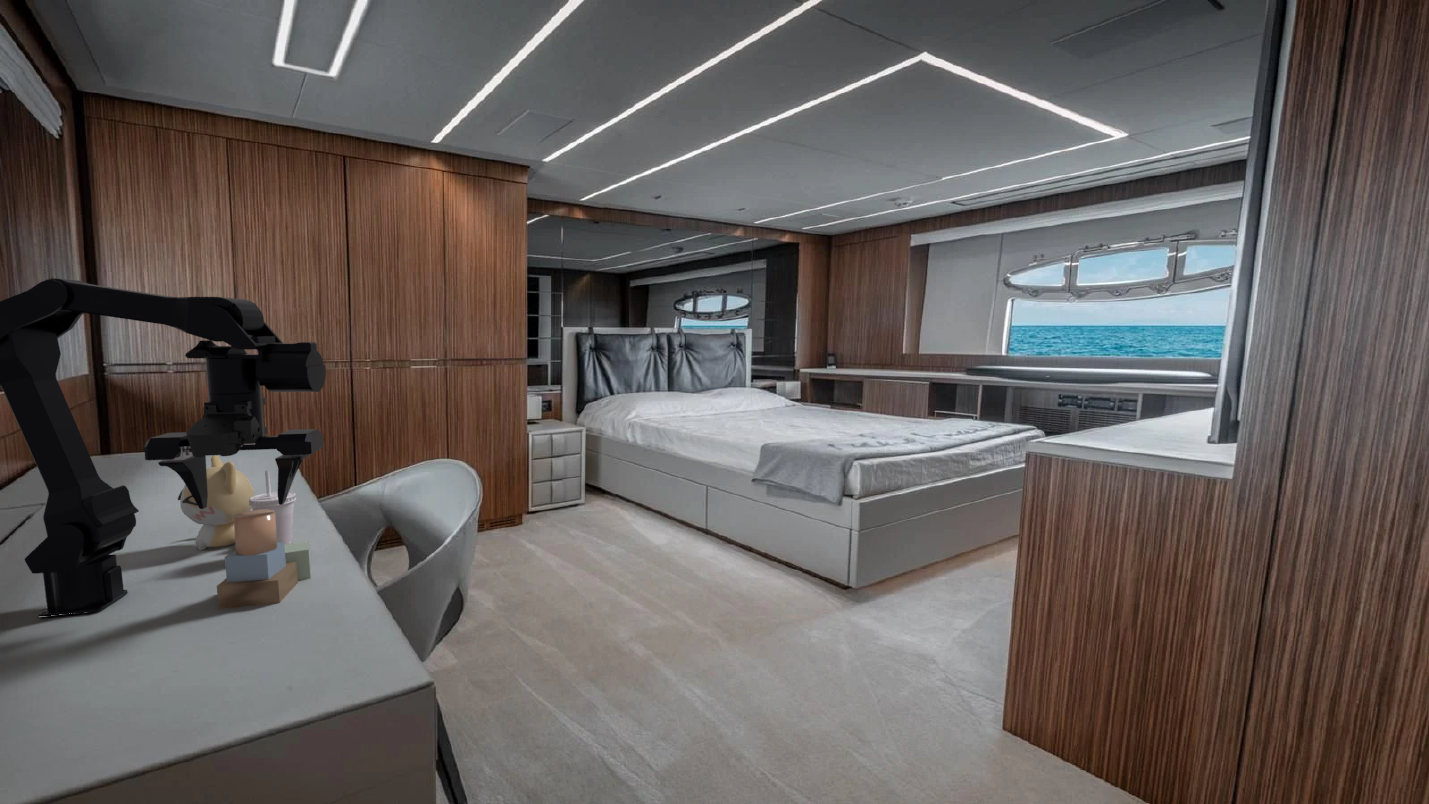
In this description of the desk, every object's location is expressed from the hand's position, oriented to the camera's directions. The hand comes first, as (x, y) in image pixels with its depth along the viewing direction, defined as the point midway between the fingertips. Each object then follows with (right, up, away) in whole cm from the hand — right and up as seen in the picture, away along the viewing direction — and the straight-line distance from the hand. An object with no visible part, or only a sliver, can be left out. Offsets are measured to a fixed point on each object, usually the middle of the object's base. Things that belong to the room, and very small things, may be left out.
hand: (243, 506), depth 86 cm
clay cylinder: (+2, -6, 0) cm, 6 cm away
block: (+1, -12, +8) cm, 15 cm away
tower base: (+1, -13, +1) cm, 13 cm away
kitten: (-21, -11, +23) cm, 32 cm away
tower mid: (+1, -10, +1) cm, 10 cm away
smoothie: (-8, -11, +18) cm, 22 cm away
